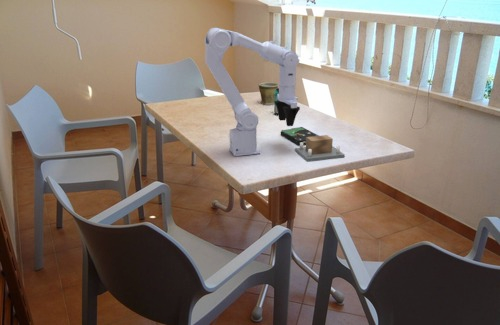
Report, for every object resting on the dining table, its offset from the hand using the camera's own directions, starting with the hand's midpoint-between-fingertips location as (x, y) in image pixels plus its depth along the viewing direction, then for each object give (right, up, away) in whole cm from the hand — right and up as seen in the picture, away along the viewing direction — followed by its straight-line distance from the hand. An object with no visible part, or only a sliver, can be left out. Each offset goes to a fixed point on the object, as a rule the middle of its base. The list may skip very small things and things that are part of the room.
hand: (286, 122), depth 150 cm
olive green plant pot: (-4, +17, +67) cm, 70 cm away
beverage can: (+2, +8, +47) cm, 47 cm away
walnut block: (+11, -10, -3) cm, 16 cm away
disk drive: (+7, -6, +13) cm, 16 cm away
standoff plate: (+11, -11, -3) cm, 16 cm away
